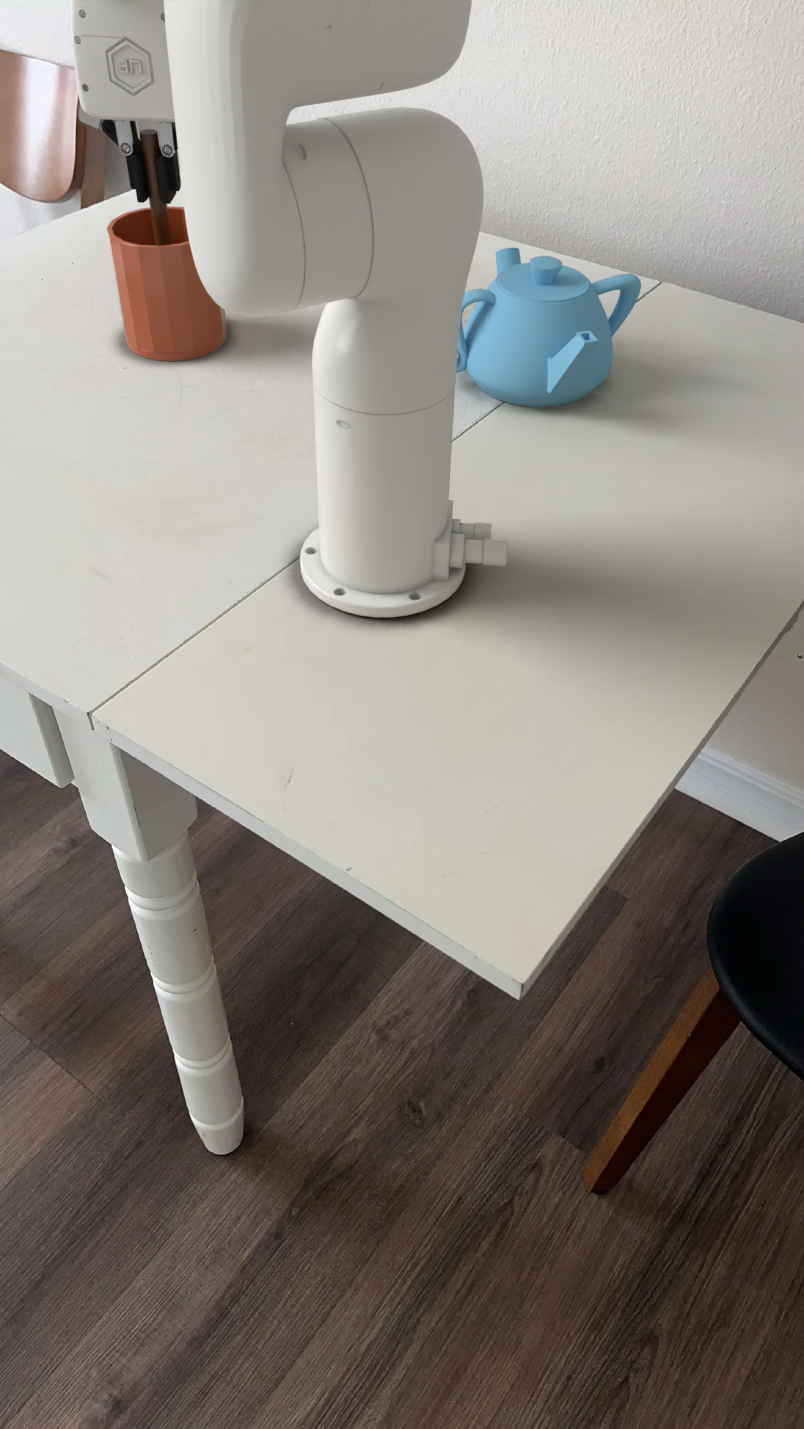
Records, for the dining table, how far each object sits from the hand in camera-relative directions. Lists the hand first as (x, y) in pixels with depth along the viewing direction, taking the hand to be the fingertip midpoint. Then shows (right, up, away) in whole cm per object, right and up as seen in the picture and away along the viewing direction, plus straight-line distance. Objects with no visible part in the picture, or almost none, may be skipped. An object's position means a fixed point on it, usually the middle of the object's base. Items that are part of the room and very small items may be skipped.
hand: (157, 196), depth 99 cm
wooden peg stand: (0, -7, +7) cm, 11 cm away
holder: (0, -10, +10) cm, 14 cm away
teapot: (+35, -15, +6) cm, 39 cm away
